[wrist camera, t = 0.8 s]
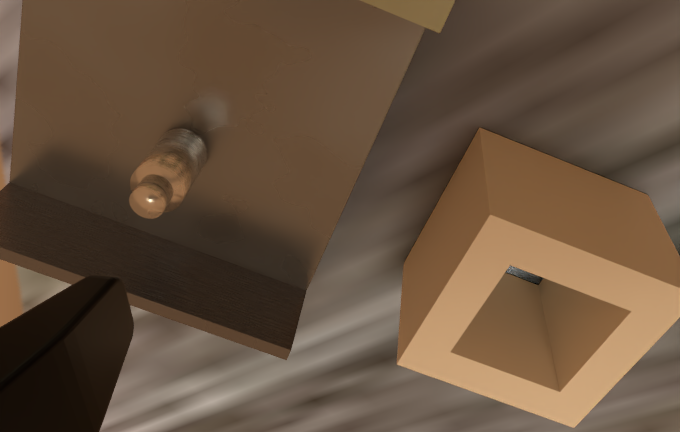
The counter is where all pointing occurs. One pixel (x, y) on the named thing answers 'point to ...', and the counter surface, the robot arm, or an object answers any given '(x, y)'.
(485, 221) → the collar
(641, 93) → the counter surface
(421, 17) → the cover
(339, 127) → the housing base
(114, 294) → the robot arm
